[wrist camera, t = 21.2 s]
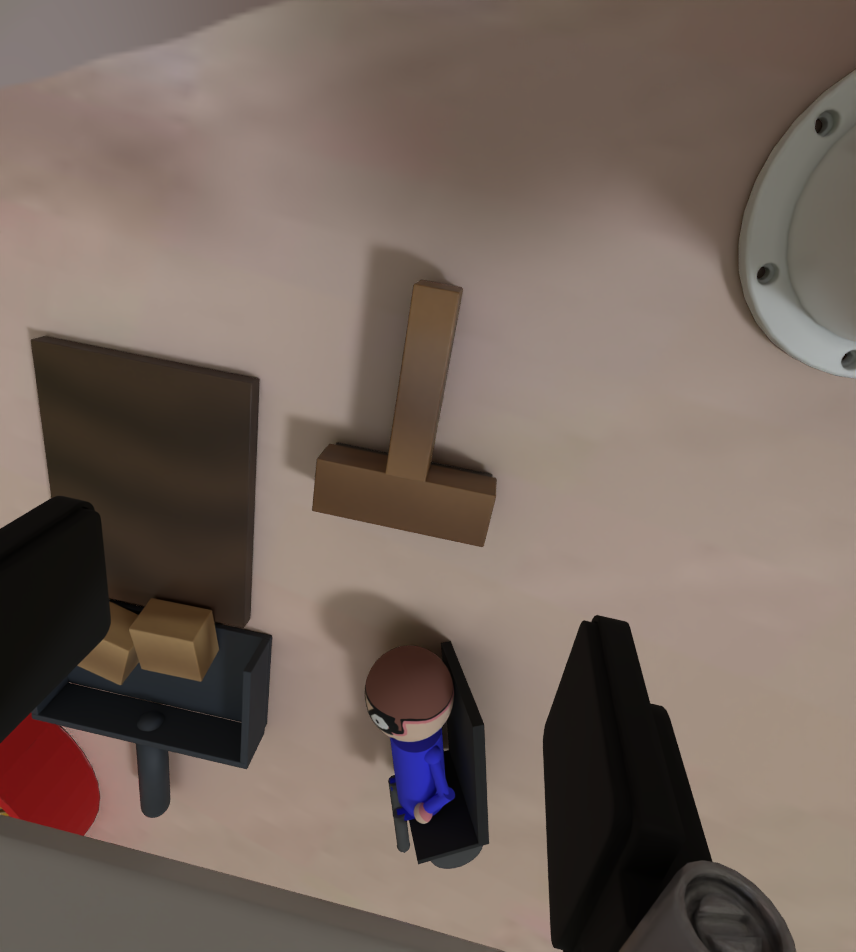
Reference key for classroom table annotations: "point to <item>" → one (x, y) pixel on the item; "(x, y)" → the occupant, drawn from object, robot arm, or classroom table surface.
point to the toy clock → (47, 778)
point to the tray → (156, 470)
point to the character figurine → (432, 753)
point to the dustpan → (174, 710)
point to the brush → (412, 444)
